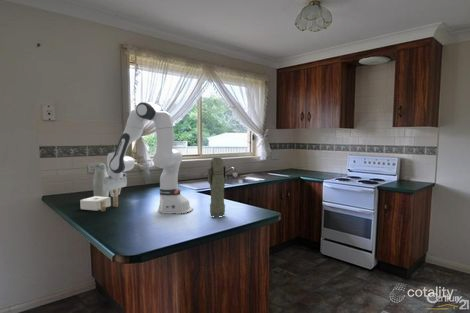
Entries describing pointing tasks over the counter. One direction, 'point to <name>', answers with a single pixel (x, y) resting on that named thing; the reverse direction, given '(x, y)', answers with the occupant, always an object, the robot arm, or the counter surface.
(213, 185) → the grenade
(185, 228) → the counter surface
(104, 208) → the short pin
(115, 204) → the long pin
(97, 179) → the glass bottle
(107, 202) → the hole block
